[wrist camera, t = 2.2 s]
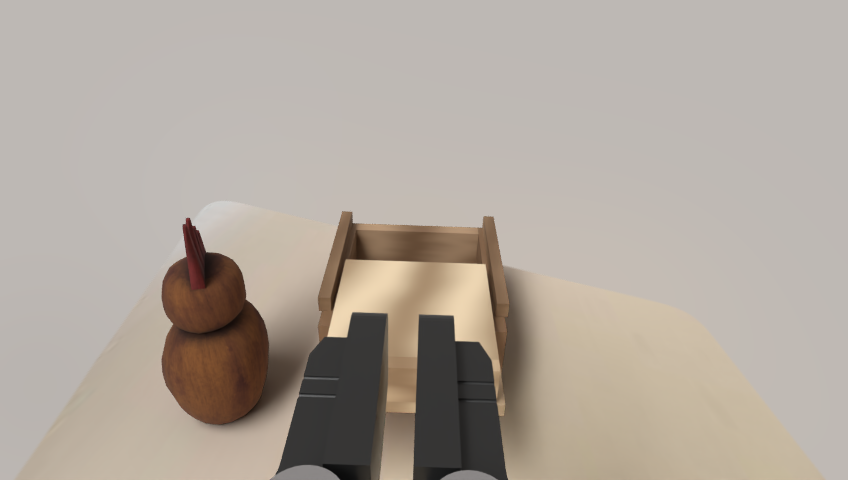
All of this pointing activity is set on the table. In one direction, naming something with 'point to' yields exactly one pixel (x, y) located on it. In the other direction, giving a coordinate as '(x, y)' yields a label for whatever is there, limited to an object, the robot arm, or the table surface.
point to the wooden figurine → (212, 336)
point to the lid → (417, 314)
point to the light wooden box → (417, 259)
